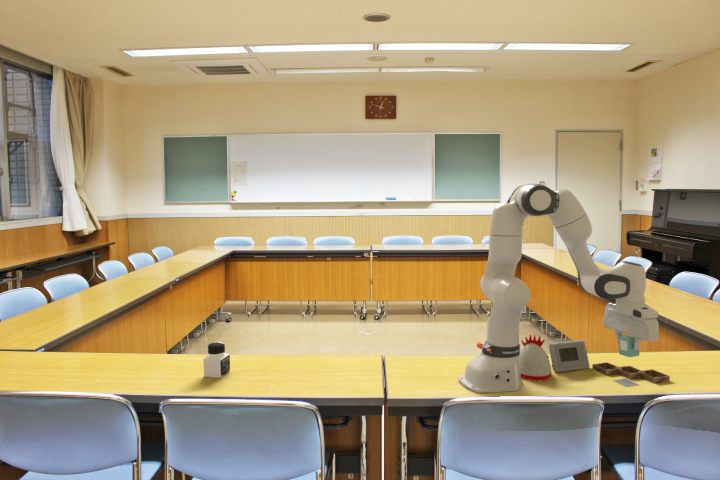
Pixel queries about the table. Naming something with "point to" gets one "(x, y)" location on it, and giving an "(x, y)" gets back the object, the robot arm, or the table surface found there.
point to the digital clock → (568, 356)
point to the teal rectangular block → (627, 346)
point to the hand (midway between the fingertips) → (628, 346)
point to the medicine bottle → (216, 361)
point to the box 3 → (654, 376)
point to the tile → (626, 382)
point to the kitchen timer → (534, 360)
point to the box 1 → (606, 368)
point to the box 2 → (629, 372)
